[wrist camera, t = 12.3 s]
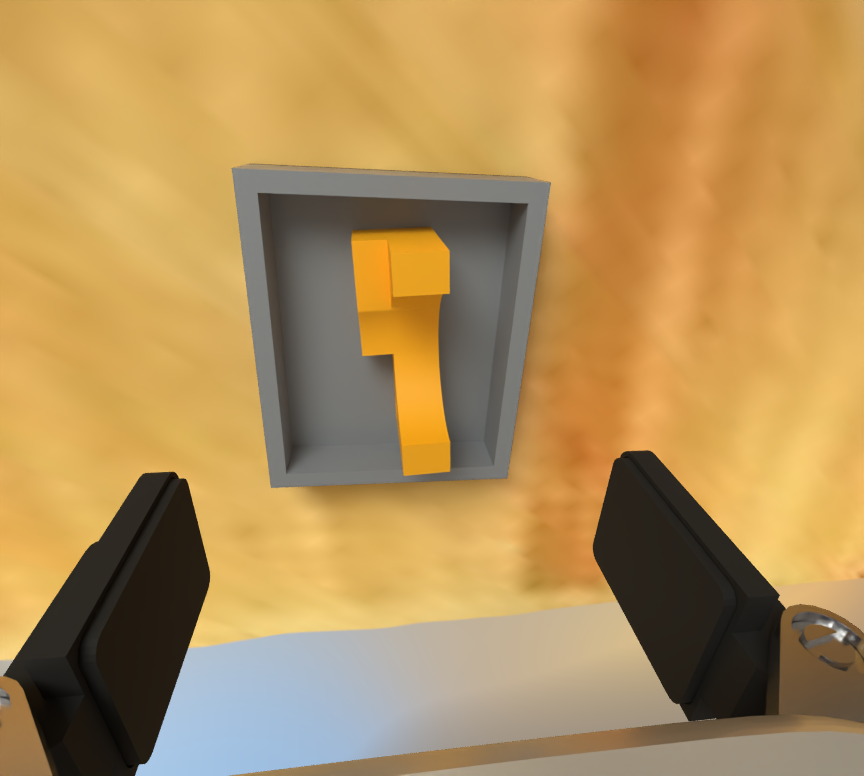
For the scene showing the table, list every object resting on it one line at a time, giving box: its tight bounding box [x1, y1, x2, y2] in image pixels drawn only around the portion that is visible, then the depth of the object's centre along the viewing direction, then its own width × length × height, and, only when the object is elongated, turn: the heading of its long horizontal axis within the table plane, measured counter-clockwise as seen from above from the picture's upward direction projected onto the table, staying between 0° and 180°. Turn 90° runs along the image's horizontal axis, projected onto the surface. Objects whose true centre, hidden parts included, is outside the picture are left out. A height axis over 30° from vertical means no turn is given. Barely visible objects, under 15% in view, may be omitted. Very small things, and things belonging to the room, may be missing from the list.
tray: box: [232, 164, 551, 488], centre depth 29 cm, size 15×18×4 cm
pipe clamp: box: [351, 227, 450, 476], centre depth 27 cm, size 12×4×6 cm, turn 1°
